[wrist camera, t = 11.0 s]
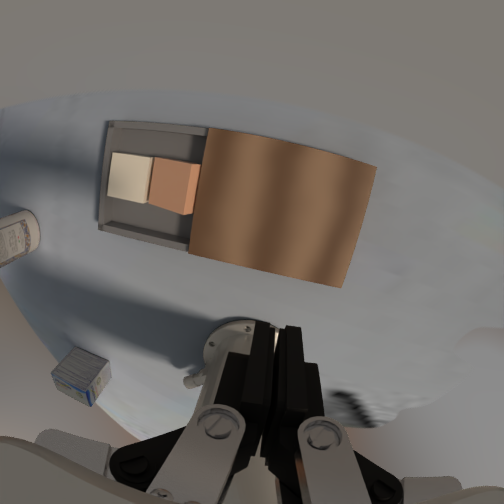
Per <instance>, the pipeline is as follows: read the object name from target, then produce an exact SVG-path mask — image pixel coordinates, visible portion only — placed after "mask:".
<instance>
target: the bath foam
mask: <svg viewBox="0 0 504 504" xmlns="http://www.w3.org/2000/svg"><path fill="white" fill-rule="evenodd" d="M39 240H40V230H39V225H38V222H37V220H36V218H35V217H34V215H33V214H32V213H31V212H29V211H27V210H24V211H20V212H17V213H14V214H11V215H8V216H5V217H3V218H0V268H1V267H3V266H5V265H7V264H9V263H11V262H13V261H14V260H16V259H18V258H20V257H22V256H24V255H26V254H28V253H30V252H32V251H34V250H35V249H36V248H37V247H38V245H39Z"/></svg>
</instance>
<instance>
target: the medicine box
mask: <svg viewBox="0 0 504 504" xmlns="http://www.w3.org/2000/svg"><path fill="white" fill-rule="evenodd" d="M51 374H52V377H53V380H54V383H55V385H56V387H57V389H58V390H59V391H61V392H63V393H65V394H66V395H68V396H70V397H72V398H74V399H75V400H77V401H79V402H81V403H83V404H85V405H87V406H90V407H91V406H92V405H93V404H94V402H95V401H96V399H97V398H98V396H99V395H100V393H101V392H102V391H103V389H104V388H105V386H106V385H107V383H108V382H109V381H110V379H111V378H112V375H111V369H110V364H109V361H107V360H105V359H102V358H100V357H98V356H95V355H93V354H91V353H88V352H86V351H84V350H82V349H79V348H77V347H74V349H73V350H72V351H71V352H70V353H69V354H68V355H67V356H66V357H65V358H64V359H63V360H62V361H61V362H60V363H59V364H58V365H57V366H56V368H54V370H53V371H52V372H51Z"/></svg>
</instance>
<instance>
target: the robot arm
mask: <svg viewBox="0 0 504 504" xmlns="http://www.w3.org/2000/svg"><path fill="white" fill-rule="evenodd" d="M203 359H204V362H205V365H206V366H205V368H204V369H201V370H200V372H199V373H197V374H192V375H189V376H186V377H184V379H183V383H184V385H185V387H186V388H188V389H191V388H195V387H198V386H200V385H203V387H202V390H201V393H200V396H199V399H198V401H197V404H196V407H195V410H194V413H193V416H192V418H191V419H190V421H189V423H188V424H187V426H185V427H182V428H180V429H177V430H174V431H171V432H168V433H166V434H163V435H160V436H157V437H154V438H150V439H147V440H144V441H141V442H137V443H134V444H131V445H127V446H124V447H122V448H114V447H111V446H110V444H107V443H102V442H98V441H94V440H90V439H86V438H83V437H79V436H76V435H72V434H69V433H66V432H63V431H59V430H55V429H48V430H44V431H42V432H41V433H40V434H39V435H38V436H37V438H36V441H35V443H32V442H29V441H26V440H23V439H19V438H14V437H8V436H0V504H504V488H502V487H497V486H479V487H472V488H467V489H463V490H462V486H461V483H460V482H459V481H458V479H456V478H454V477H450V476H443V477H404V478H403V479H402V480H399V479H397V478H396V477H395V476H394V475H392V474H390V473H389V472H387V471H385V470H384V469H382V468H380V467H379V466H377V465H376V464H374V463H373V462H371V461H370V460H368V459H366V458H365V457H363V456H362V455H360V454H359V453H357V452H356V451H354V450H353V448H352V446H351V443H350V440H349V437H348V434H347V432H346V430H345V428H344V427H343V426H342V425H341V424H340V423H339V422H338V421H336V420H334V419H332V418H328V417H325V415H324V407H323V399H322V392H321V384H320V377H319V370H318V365H317V364H316V363H307V362H304V353H303V342H302V332H301V327H295V326H288V325H286V327H285V329H281V328H280V329H278V328H276V327H274V326H272V325H270V323H267V322H260V321H253V320H239V321H232V322H229V323H226V324H224V325H222V326H220V327H218V328H217V329H216V330H214V331H213V332H212V333H211V334H210V336H209V337H208V339H207V341H206V343H205V346H204V350H203Z"/></svg>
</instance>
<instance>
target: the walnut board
mask: <svg viewBox="0 0 504 504" xmlns="http://www.w3.org/2000/svg"><path fill="white" fill-rule="evenodd" d="M376 169H377V167H375V166H372V165H369V164H366V163H363V162H360V161H357V160H353V159H350V158H347V157H343V156H340V155H336V154H333V153H329V152H326V151H322V150H318V149H314V148H311V147H307V146H303V145H298V144H294V143H290V142H286V141H281V140H276V139H272V138H267V137H262V136H257V135H251V134H246V133H240V132H234V131H228V130H222V129H215V128H209V131H208V136H207V141H206V146H205V151H204V156H203V162H202V167H201V173H200V178H199V184H198V190H197V196H196V202H195V209H194V215H193V222H192V229H191V236H190V244H189V251H188V253H189V254H193V255H197V256H201V257H205V258H209V259H214V260H218V261H222V262H226V263H231V264H235V265H239V266H244V267H248V268H252V269H257V270H261V271H265V272H270V273H274V274H279V275H283V276H287V277H292V278H296V279H301V280H305V281H310V282H314V283H319V284H324V285H328V286H333V287H337V288H341V287H342V285H343V282H344V279H345V276H346V273H347V270H348V267H349V264H350V261H351V258H352V255H353V252H354V249H355V246H356V243H357V239H358V236H359V233H360V229H361V226H362V223H363V219H364V216H365V212H366V208H367V205H368V201H369V197H370V193H371V190H372V186H373V182H374V177H375V173H376Z"/></svg>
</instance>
